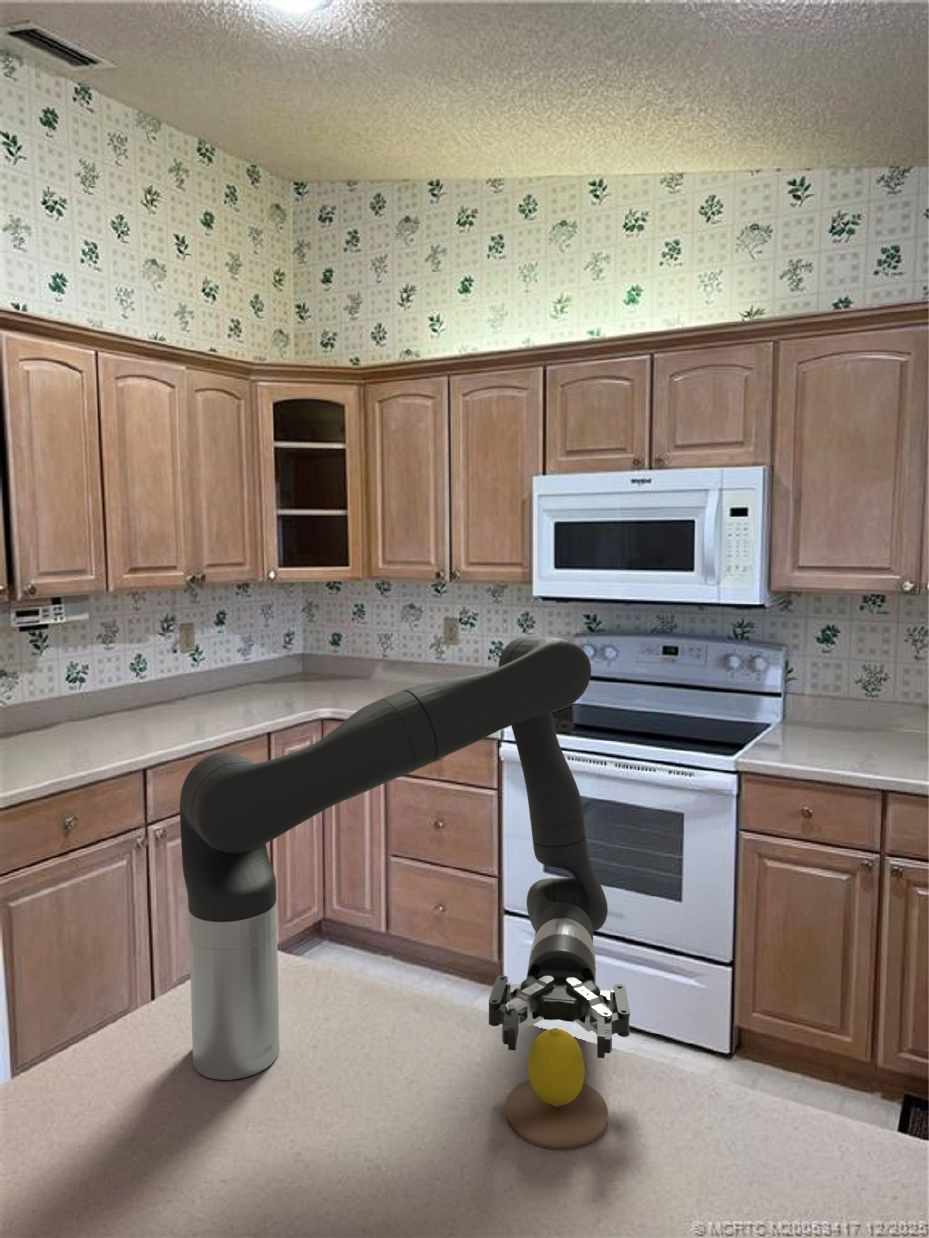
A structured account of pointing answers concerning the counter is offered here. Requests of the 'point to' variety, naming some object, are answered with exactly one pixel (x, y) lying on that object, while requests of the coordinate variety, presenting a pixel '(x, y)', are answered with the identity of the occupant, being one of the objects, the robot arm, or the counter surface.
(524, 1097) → the walnut board
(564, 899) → the robot arm
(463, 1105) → the counter surface
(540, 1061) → the lemon
